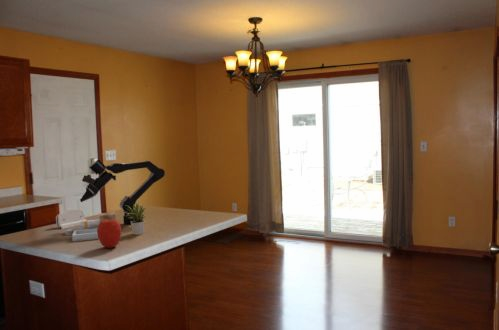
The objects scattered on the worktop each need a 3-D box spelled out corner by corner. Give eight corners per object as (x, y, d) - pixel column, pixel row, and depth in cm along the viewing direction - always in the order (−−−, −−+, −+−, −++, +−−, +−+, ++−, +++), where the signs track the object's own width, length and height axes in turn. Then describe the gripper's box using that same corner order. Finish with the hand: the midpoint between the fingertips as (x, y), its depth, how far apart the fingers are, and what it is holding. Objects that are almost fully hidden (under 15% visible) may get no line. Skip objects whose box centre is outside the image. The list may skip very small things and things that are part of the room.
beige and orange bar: (105, 225, 223) (104, 218, 223) (105, 227, 219) (104, 220, 219) (81, 228, 219) (80, 220, 219) (80, 229, 216) (80, 222, 215)
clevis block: (116, 227, 227) (115, 212, 227) (116, 230, 219) (115, 214, 219) (66, 232, 219) (65, 216, 219) (65, 235, 211) (63, 219, 211)
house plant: (121, 231, 216) (119, 200, 215) (148, 228, 221) (146, 198, 220) (124, 237, 203) (122, 204, 202) (153, 234, 208) (151, 202, 207)
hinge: (61, 229, 228) (57, 211, 230) (57, 231, 231) (52, 213, 232) (88, 223, 242) (84, 207, 243) (84, 225, 244) (80, 209, 246)
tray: (110, 232, 215) (110, 227, 215) (110, 237, 204) (110, 231, 204) (74, 236, 209) (74, 230, 209) (72, 241, 199) (72, 235, 198)
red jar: (93, 249, 183) (91, 218, 182) (108, 243, 192) (106, 214, 191) (112, 251, 179) (110, 219, 178) (127, 245, 188) (125, 215, 187)
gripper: (91, 172, 235) (69, 191, 230) (91, 168, 218) (68, 189, 213) (105, 185, 237) (85, 205, 232) (107, 183, 220) (85, 204, 215)
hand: (80, 201), depth 223 cm, fingers open, 9 cm apart
